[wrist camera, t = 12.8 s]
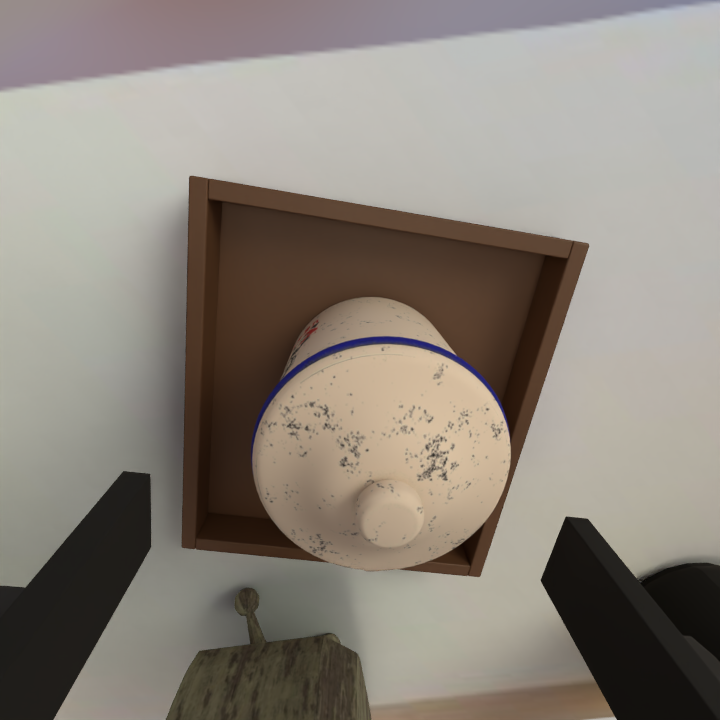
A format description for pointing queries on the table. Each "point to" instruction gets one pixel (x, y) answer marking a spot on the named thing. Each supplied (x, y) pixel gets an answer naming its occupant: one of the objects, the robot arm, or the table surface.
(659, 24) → the table surface
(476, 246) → the tray
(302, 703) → the green bell
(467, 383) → the teacup with lid
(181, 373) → the table surface
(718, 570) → the coffee jar
